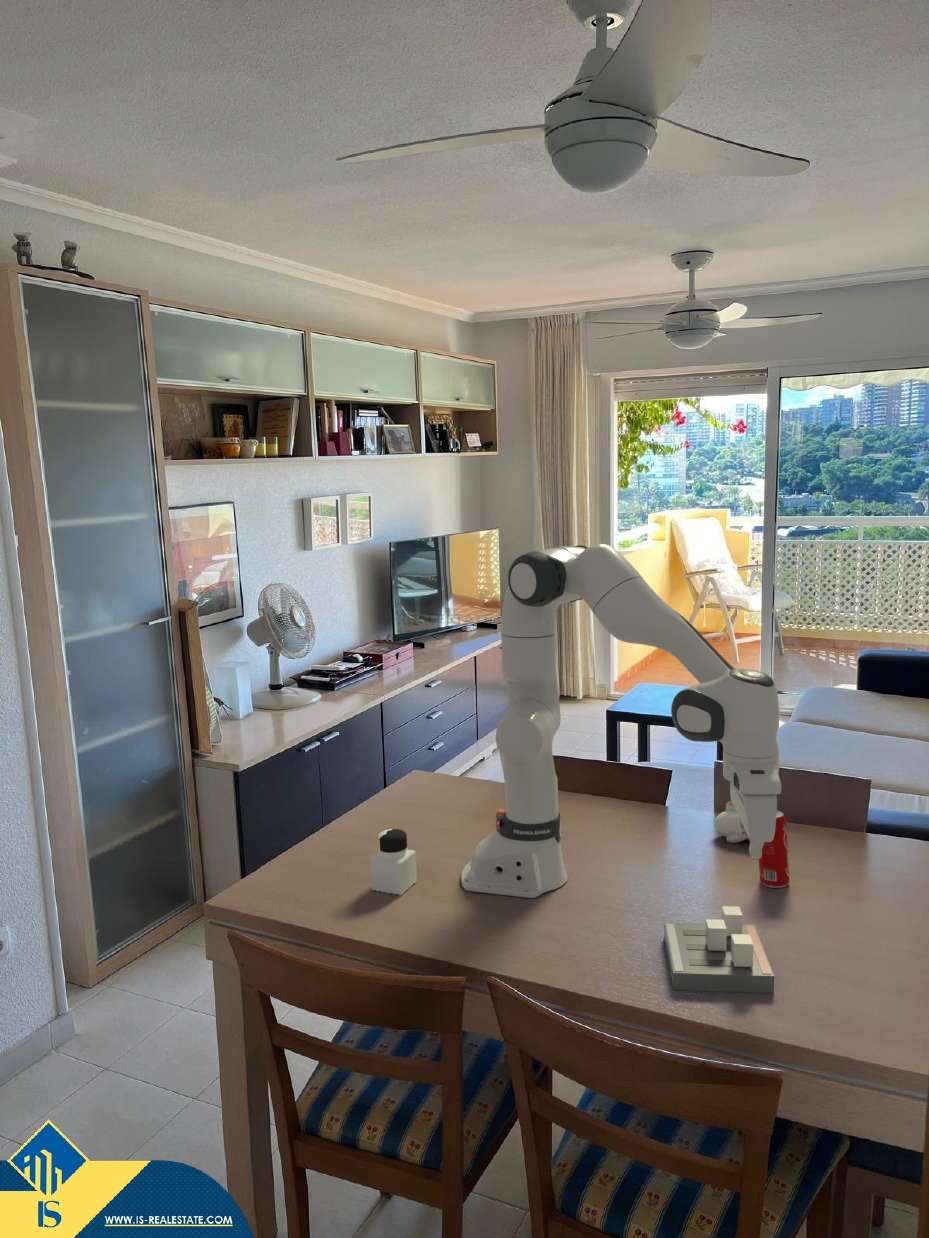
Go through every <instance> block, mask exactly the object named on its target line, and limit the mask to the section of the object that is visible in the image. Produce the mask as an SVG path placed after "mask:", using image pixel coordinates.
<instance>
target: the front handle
mask: <svg viewBox="0 0 929 1238" xmlns="http://www.w3.org/2000/svg"><path fill="white" fill-rule="evenodd" d="M731 958H732V961H733V964H734V966H737V967H753V942H752V940H751V937H750V935H746V934H731Z"/></svg>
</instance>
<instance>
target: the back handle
mask: <svg viewBox="0 0 929 1238" xmlns="http://www.w3.org/2000/svg"><path fill="white" fill-rule="evenodd" d="M721 920H724V923H725V926H726V936H731V934H742V925H743V913H742V909H741V907H740V906H728V905H727V906H726V905H724V906H723V905H722V906H721Z"/></svg>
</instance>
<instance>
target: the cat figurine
mask: <svg viewBox="0 0 929 1238" xmlns="http://www.w3.org/2000/svg"><path fill="white" fill-rule="evenodd" d="M713 823H714V824H713V825H714V826H713V827H714V828H715V830H716V832H717V833H719V834H720V835H721V836H722V837H723V836H724V838H726V839H725V841H726V842H727V843H728V842H732V843H731V844H737V843H741V842H743V841H745V840H747V841H749V842H750V839H749V838H747V837H746V838H743V837H742V836H741V834H740V824H739V818H738V813H737V811H736V809H735V807H734V805H733V803H732V801H731V800H730V801H728V802H726V804H725V811H722V812H721V813H719V814H718V815H717V816H716V817H715V819H714V822H713Z"/></svg>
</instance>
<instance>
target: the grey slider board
mask: <svg viewBox="0 0 929 1238" xmlns="http://www.w3.org/2000/svg"><path fill="white" fill-rule="evenodd" d="M742 934H746V935H750V937H751V940H752V942H753V967H737V966H734V964H733V961H732V958H731V936H726V951H718V950H708V948H707V944H706V923H687V922H686V923H685V922H684V923H683V922H663V939H664V944H665V951H666V956H667V962H668V969H669V974H670V979H671V984H672V989H673V991H696V992H697V991H698V992H700V991H701V992H726V993H729V992H730V993H731V992H732V993H755V994H757V993H758V994H775V974H774V972H773V969H772V967H771V965H770V962H769V958H768V957H767V956H768V955H767V953H766V951H765V949H764V946H763V944H762V943H763V942H762V940H761V938H760V936H759V933H758V931H757V928H756V925H755V924H742Z"/></svg>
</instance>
